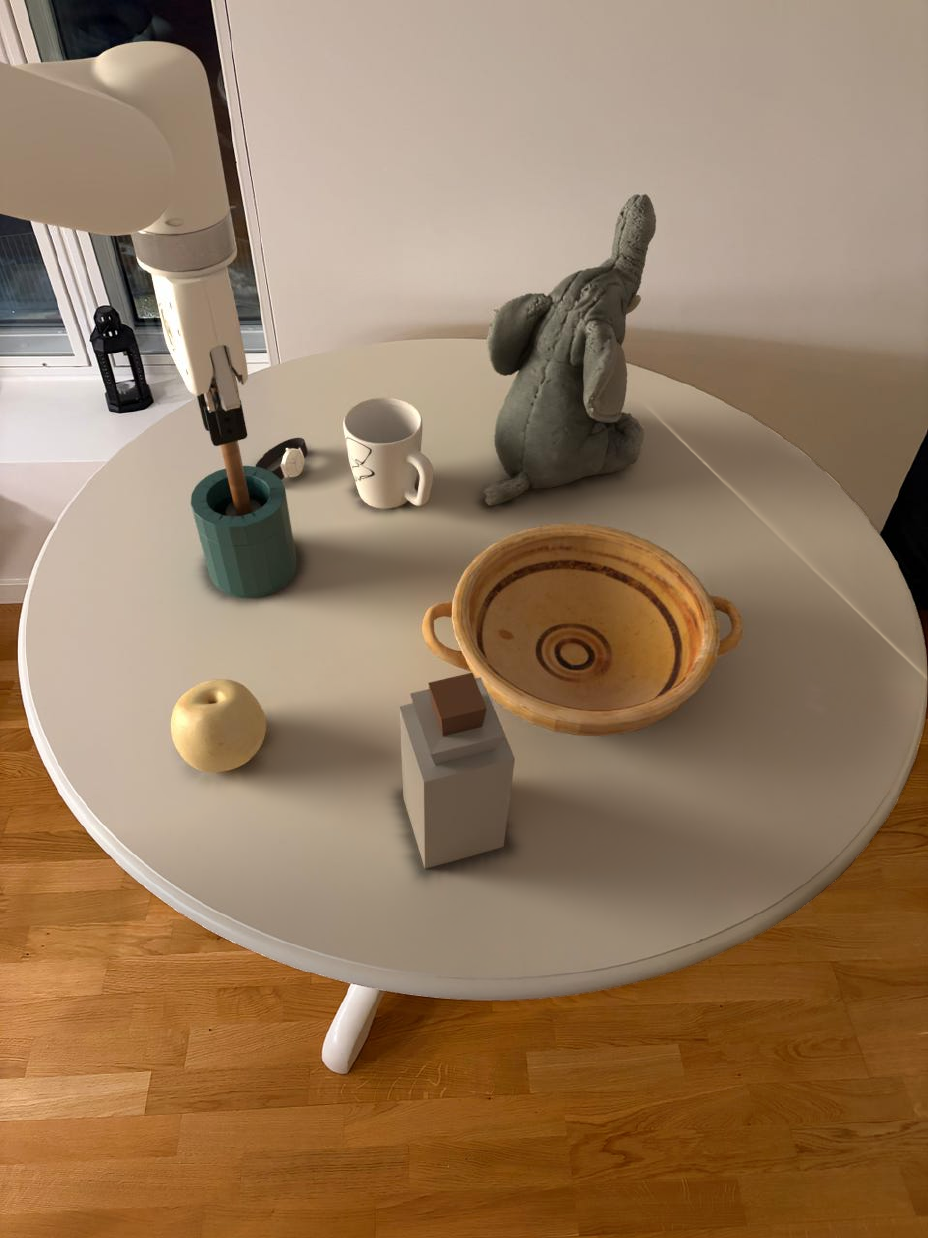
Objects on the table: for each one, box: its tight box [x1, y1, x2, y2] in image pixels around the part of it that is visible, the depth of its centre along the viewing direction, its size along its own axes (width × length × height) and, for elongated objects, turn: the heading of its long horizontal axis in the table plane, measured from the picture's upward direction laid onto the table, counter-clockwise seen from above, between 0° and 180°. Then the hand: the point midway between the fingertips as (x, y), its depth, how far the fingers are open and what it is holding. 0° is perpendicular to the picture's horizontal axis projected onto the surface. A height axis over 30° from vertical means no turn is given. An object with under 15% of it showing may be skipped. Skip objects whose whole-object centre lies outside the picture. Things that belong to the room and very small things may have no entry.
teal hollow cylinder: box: [190, 465, 297, 599], centre depth 91 cm, size 9×9×10 cm
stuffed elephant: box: [483, 193, 657, 506], centre depth 99 cm, size 19×21×27 cm
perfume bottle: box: [398, 672, 516, 870], centre depth 69 cm, size 7×7×18 cm
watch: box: [255, 437, 309, 480], centre depth 104 cm, size 8×5×4 cm, turn 151°
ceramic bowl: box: [421, 522, 744, 737], centre depth 84 cm, size 30×24×8 cm
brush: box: [211, 387, 262, 517], centre depth 85 cm, size 4×4×20 cm
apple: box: [170, 678, 267, 773], centre depth 78 cm, size 8×8×8 cm
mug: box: [342, 396, 435, 510], centre depth 99 cm, size 11×8×10 cm
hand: (226, 432), depth 82 cm, fingers closed on brush
